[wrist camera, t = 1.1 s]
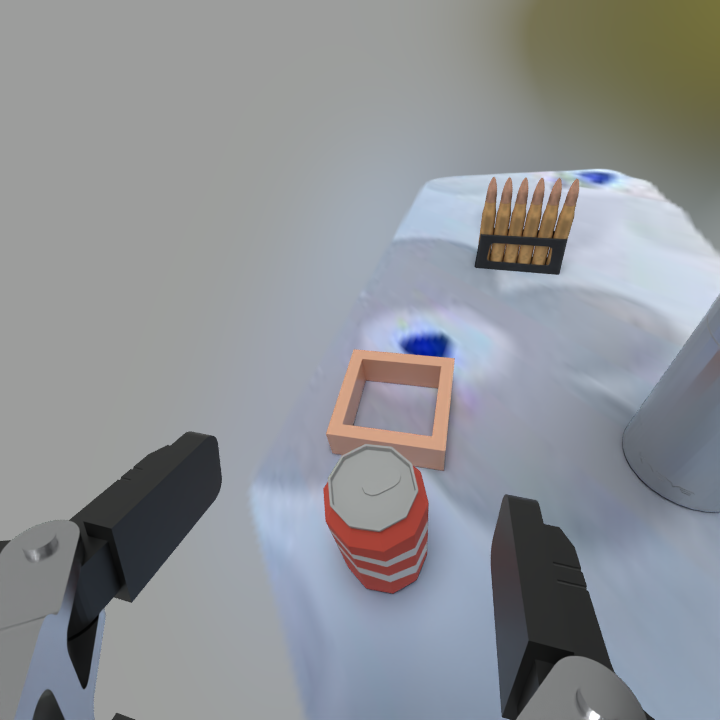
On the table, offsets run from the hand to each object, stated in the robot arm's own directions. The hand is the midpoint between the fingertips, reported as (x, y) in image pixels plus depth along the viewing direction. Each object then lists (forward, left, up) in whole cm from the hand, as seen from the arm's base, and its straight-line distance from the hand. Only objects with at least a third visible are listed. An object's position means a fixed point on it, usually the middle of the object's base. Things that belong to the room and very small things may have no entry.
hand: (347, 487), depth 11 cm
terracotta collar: (-11, -15, -23) cm, 29 cm away
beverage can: (-3, -5, -23) cm, 24 cm away
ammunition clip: (-38, -25, -23) cm, 51 cm away
